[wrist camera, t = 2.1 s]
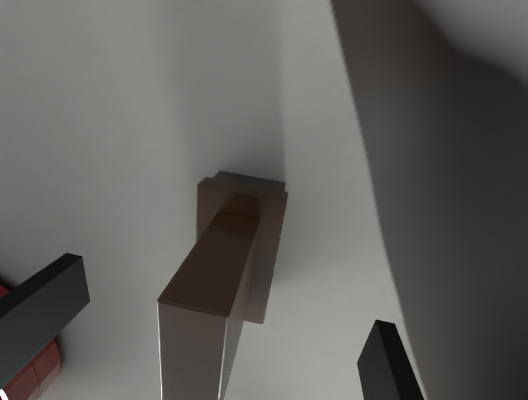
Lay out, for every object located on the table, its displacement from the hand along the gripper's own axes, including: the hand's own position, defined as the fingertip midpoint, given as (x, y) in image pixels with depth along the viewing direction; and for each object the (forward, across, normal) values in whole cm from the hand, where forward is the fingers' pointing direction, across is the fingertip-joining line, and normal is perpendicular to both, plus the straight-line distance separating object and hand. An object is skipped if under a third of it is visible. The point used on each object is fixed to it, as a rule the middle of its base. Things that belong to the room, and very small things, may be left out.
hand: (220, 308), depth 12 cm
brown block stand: (+6, 0, 0) cm, 6 cm away
